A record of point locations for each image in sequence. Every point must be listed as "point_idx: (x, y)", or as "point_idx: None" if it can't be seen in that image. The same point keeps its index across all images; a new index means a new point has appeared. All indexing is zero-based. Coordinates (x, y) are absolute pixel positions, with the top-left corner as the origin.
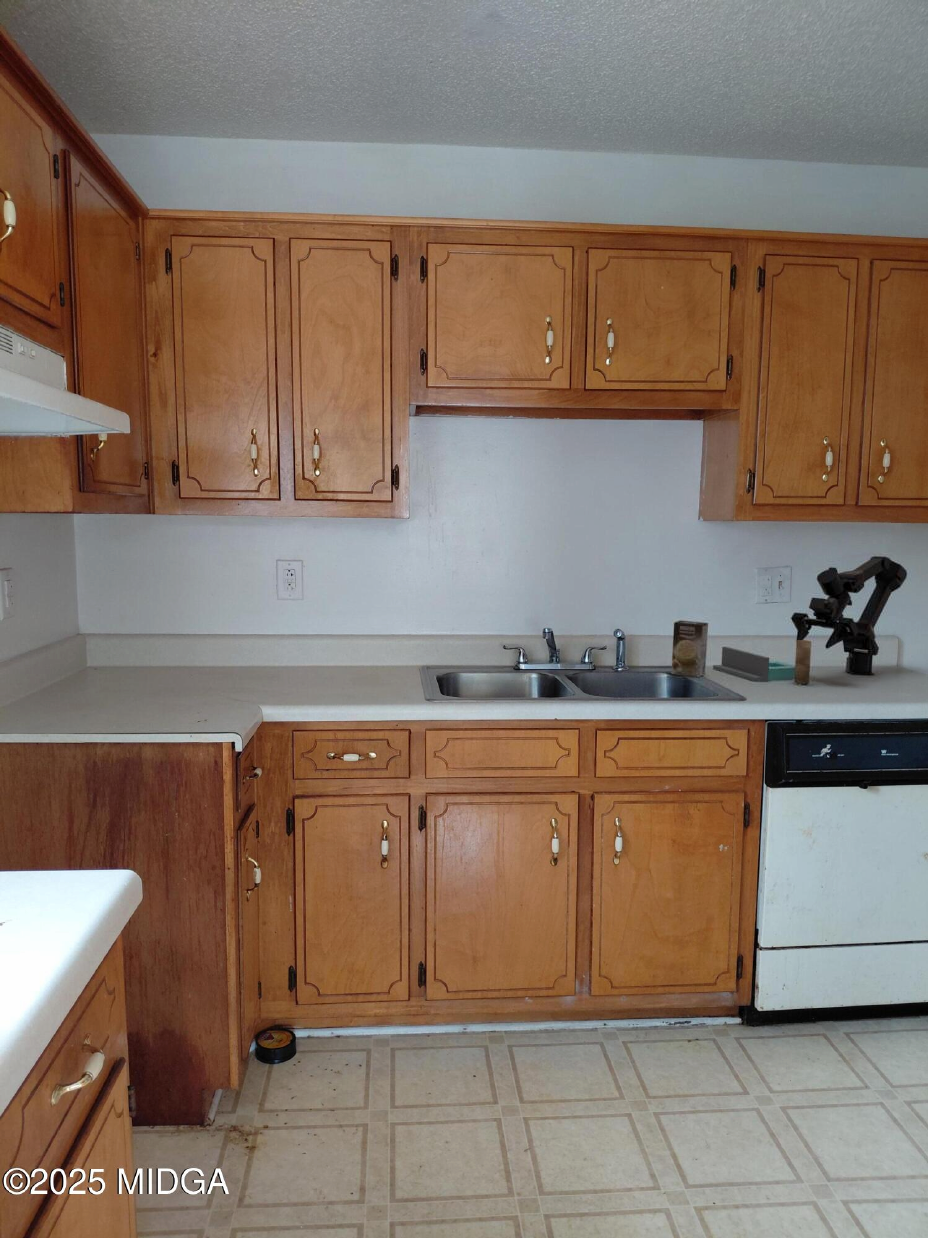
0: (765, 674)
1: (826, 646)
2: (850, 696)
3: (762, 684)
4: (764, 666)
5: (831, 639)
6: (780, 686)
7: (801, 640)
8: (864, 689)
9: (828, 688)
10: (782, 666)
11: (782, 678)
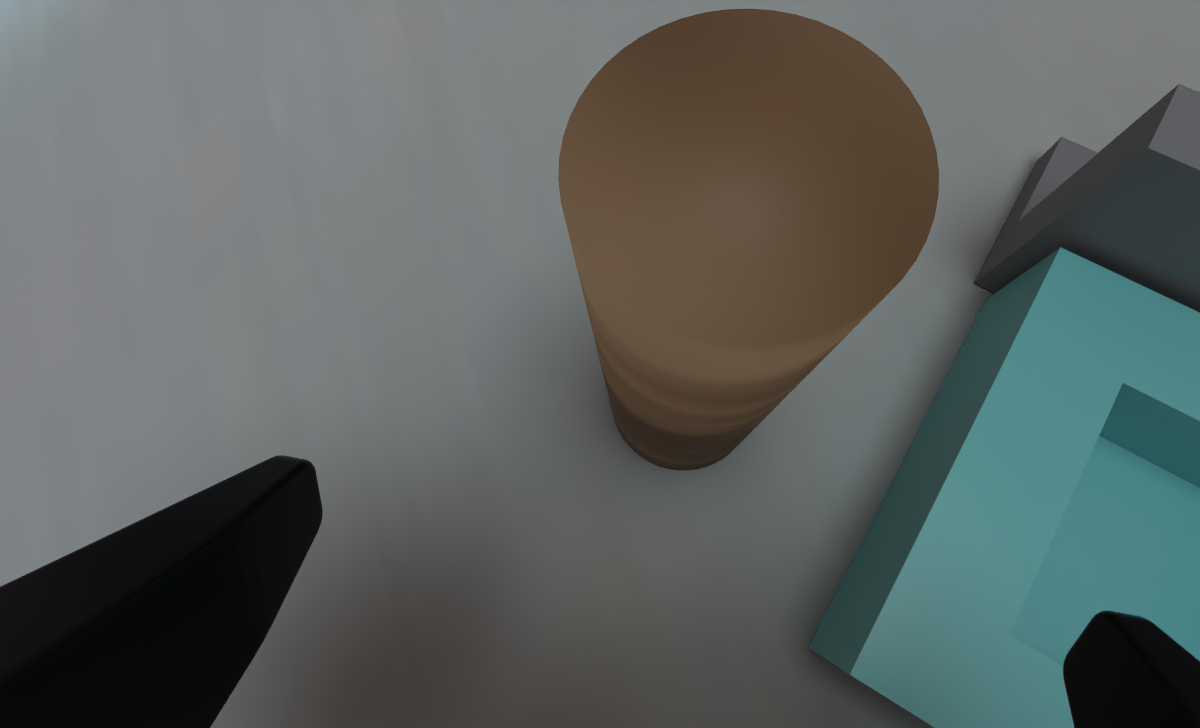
0: (1026, 222)
1: (281, 460)
2: (173, 153)
3: None
4: (1092, 158)
5: (45, 565)
6: None
7: (852, 235)
8: None
9: (403, 357)
10: None
11: (918, 447)
